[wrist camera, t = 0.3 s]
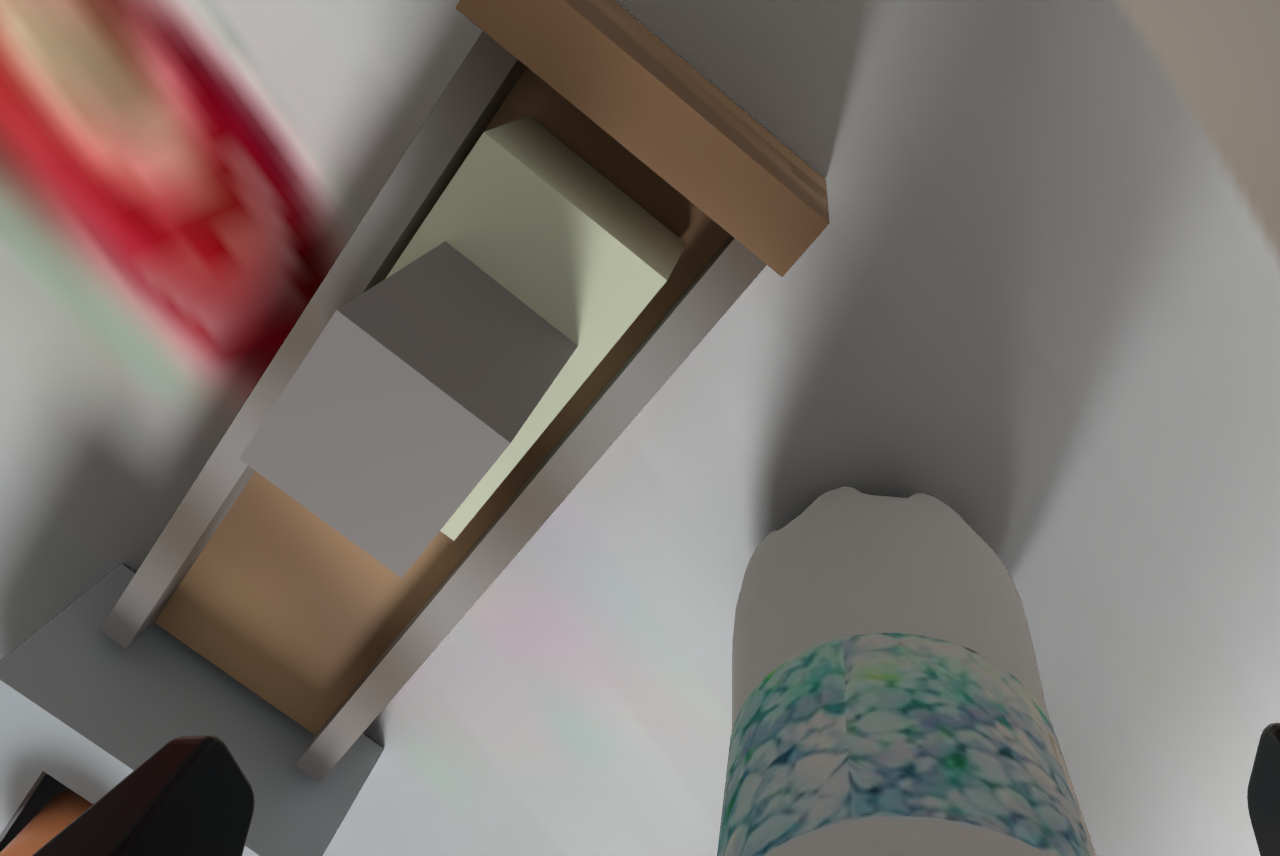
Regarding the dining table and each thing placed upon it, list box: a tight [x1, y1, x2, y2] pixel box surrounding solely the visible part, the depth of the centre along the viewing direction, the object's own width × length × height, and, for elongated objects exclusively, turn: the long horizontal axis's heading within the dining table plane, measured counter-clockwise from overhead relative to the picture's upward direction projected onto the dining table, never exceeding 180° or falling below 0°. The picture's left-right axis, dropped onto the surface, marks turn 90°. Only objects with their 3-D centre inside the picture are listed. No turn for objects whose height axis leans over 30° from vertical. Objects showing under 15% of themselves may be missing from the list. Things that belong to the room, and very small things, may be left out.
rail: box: [100, 0, 829, 783], centre depth 22 cm, size 20×7×5 cm, turn 142°
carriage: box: [239, 115, 686, 578], centre depth 18 cm, size 7×4×8 cm, turn 142°
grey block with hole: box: [0, 563, 384, 856], centre depth 28 cm, size 8×9×5 cm
